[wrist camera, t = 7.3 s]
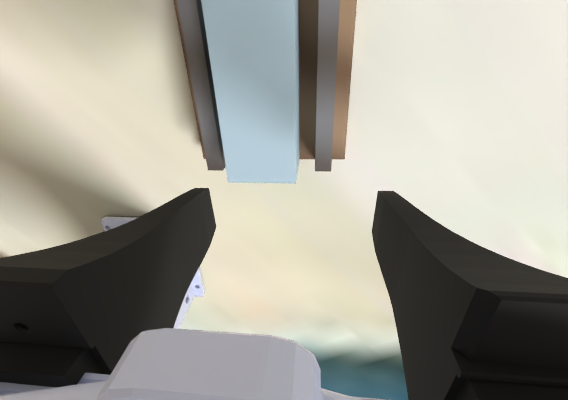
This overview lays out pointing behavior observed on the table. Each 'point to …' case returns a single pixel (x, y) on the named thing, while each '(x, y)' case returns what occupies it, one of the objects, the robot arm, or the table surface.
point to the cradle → (312, 78)
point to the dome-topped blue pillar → (256, 86)
